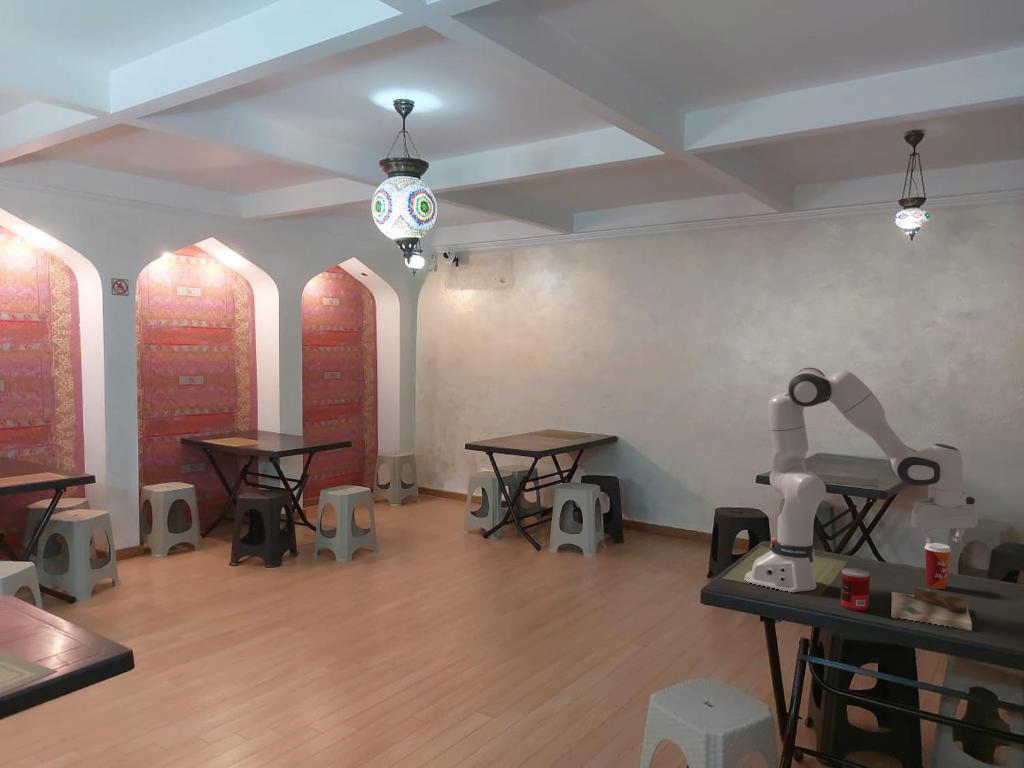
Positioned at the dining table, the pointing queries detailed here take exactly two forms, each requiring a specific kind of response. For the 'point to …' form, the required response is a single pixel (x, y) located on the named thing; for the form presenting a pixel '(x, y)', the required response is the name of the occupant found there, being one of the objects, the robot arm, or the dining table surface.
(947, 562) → the paper cup
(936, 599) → the wooden spoon
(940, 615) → the cream flat square slab
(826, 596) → the dining table surface
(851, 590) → the canned food
